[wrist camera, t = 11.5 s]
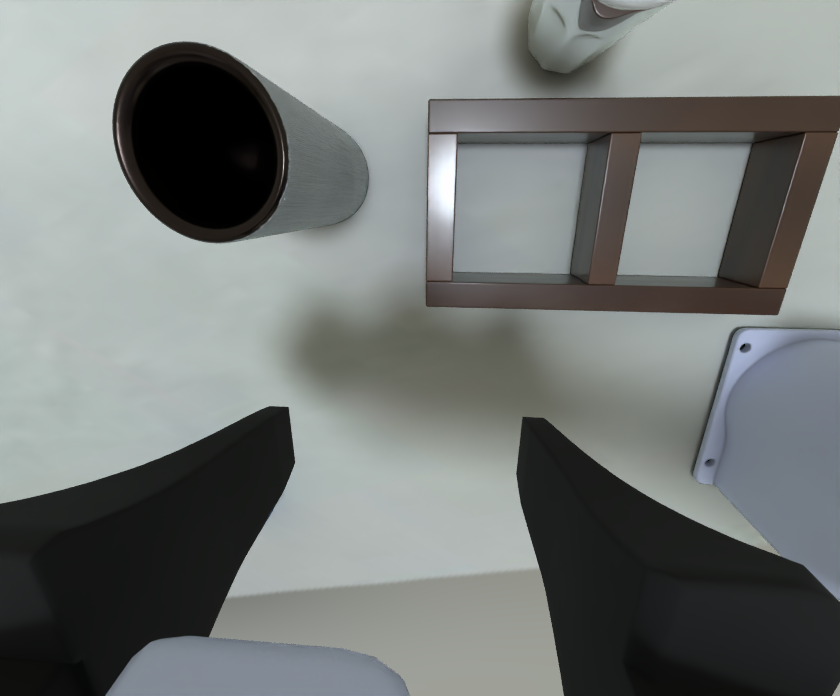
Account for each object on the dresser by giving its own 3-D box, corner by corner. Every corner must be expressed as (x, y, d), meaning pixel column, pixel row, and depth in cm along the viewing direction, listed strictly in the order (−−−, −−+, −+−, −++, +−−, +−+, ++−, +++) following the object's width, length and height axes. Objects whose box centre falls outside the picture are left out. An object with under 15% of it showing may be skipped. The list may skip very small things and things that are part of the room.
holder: (735, 301, 20) (778, 315, 17) (428, 294, 21) (425, 306, 18) (790, 111, 17) (851, 95, 15) (431, 113, 18) (428, 98, 16)
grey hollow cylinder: (306, 239, 21) (178, 270, 11) (261, 150, 19) (71, 96, 10) (384, 201, 20) (320, 200, 10) (343, 106, 18) (223, -2, 9)
